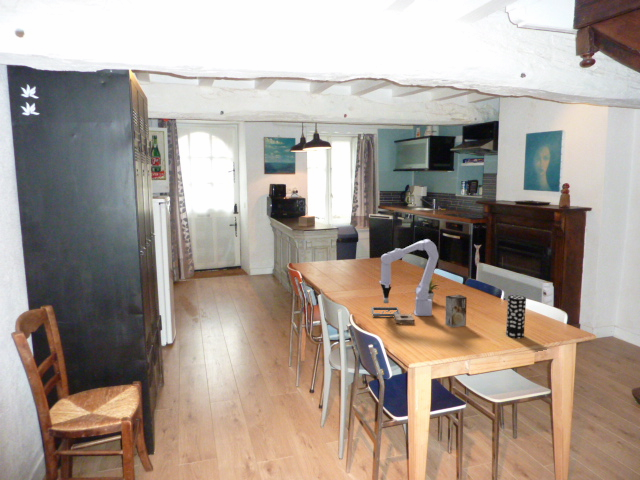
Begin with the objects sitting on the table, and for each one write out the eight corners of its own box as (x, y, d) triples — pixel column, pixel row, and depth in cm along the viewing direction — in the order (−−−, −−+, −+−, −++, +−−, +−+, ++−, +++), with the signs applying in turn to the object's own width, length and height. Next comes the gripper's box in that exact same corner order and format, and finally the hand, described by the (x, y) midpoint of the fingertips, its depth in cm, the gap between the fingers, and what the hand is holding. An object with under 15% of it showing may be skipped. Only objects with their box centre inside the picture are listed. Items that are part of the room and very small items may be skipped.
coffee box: (459, 322, 255) (460, 294, 253) (466, 326, 249) (467, 297, 247) (444, 324, 253) (445, 295, 251) (451, 327, 247) (452, 298, 245)
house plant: (422, 305, 288) (422, 280, 286) (412, 300, 302) (412, 275, 299) (442, 303, 292) (443, 278, 290) (431, 298, 305) (432, 274, 303)
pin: (389, 302, 273) (389, 288, 272) (389, 303, 269) (389, 289, 268) (382, 302, 273) (382, 288, 273) (382, 303, 269) (382, 289, 269)
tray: (397, 310, 279) (397, 307, 279) (400, 317, 265) (400, 314, 265) (371, 310, 280) (371, 307, 280) (372, 317, 266) (372, 313, 266)
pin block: (411, 318, 263) (411, 314, 263) (414, 324, 253) (414, 319, 253) (394, 318, 263) (394, 314, 263) (396, 324, 254) (396, 319, 253)
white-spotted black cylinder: (519, 332, 238) (521, 295, 235) (527, 338, 230) (529, 299, 227) (503, 333, 238) (505, 295, 235) (510, 338, 230) (512, 299, 227)
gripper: (378, 271, 277) (378, 293, 278) (380, 277, 262) (380, 300, 264) (390, 271, 276) (389, 293, 278) (392, 277, 262) (392, 300, 264)
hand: (385, 297), depth 271 cm, fingers closed on pin, 4 cm apart
